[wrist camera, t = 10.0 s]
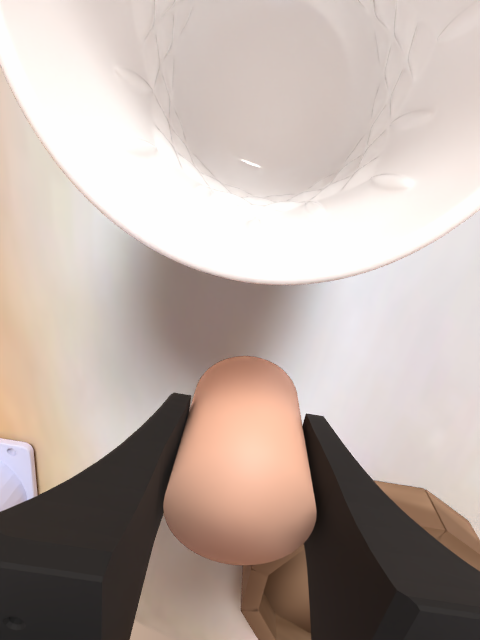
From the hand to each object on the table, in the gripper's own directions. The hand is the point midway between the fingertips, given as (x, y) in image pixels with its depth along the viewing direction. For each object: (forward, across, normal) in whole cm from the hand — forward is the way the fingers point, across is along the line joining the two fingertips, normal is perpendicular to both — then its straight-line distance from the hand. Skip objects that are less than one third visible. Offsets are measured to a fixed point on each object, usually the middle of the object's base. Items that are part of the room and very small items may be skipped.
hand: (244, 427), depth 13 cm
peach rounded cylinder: (+2, 0, 0) cm, 2 cm away
